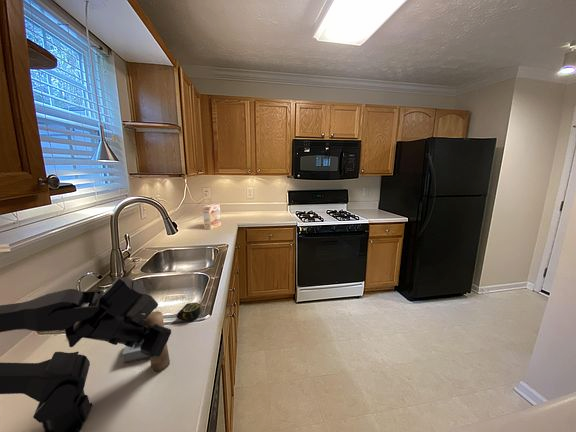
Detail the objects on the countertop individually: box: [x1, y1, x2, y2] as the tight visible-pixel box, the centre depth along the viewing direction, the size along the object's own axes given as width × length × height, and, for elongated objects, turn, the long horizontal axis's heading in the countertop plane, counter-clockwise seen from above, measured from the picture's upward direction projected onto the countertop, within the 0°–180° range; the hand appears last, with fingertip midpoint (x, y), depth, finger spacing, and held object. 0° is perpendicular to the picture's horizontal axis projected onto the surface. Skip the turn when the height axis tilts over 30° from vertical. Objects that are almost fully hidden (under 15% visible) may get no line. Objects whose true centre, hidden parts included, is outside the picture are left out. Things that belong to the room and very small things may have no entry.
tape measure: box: [176, 302, 202, 321], centre depth 87 cm, size 7×7×4 cm
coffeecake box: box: [202, 203, 222, 230], centre depth 209 cm, size 15×7×20 cm, turn 159°
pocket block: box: [121, 340, 150, 364], centre depth 71 cm, size 8×8×3 cm
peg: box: [144, 310, 171, 373], centre depth 64 cm, size 4×4×15 cm
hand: (161, 337), depth 66 cm, fingers closed on peg, 4 cm apart
